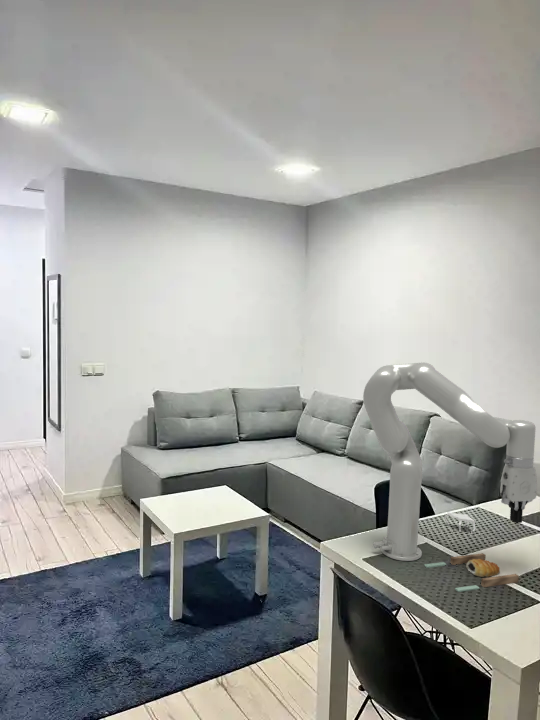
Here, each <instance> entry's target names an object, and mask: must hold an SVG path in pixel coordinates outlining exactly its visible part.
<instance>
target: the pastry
mask: <svg viewBox="0 0 540 720" xmlns="http://www.w3.org/2000/svg"><path fill="white" fill-rule="evenodd" d="M465 565H466V566H465V567H466V570H467V571H468V572H469V571H470V573H471V574H472V575H474V576H475V577H479V578H480V577H481V578H484V577H485V578H489V577H495V576H497V575H498V574H500V572H501V570H500V567H499V565H498V564H497V563H495V562H493V561H489V560H486V559H485V560H482V559H472V560H469V562H467V563H465Z"/></svg>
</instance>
